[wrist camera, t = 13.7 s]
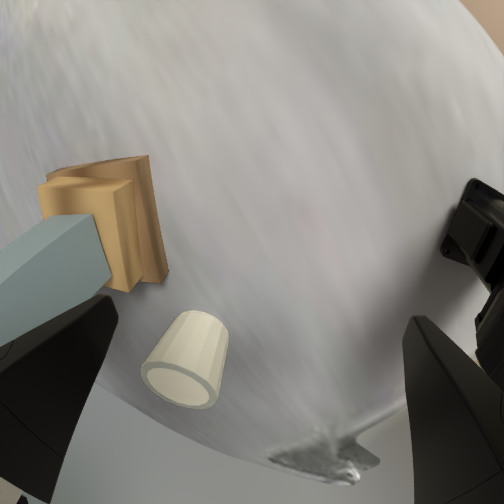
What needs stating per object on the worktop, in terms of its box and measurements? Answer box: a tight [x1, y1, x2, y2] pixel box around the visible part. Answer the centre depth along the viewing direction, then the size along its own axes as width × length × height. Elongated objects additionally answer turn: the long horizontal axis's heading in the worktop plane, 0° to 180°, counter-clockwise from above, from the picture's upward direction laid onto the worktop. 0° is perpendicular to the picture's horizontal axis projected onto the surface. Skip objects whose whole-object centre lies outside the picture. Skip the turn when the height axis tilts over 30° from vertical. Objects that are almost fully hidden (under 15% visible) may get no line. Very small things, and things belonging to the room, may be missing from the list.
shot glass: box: [140, 310, 229, 409], centre depth 24 cm, size 7×7×7 cm
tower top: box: [37, 177, 143, 293], centre depth 20 cm, size 8×8×2 cm
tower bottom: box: [46, 155, 169, 283], centre depth 22 cm, size 10×10×2 cm
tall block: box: [0, 214, 112, 347], centre depth 14 cm, size 5×5×11 cm
